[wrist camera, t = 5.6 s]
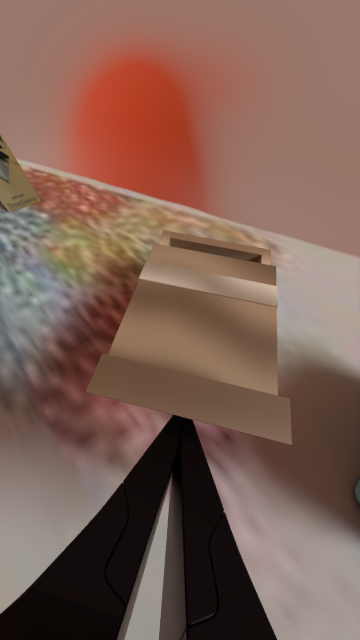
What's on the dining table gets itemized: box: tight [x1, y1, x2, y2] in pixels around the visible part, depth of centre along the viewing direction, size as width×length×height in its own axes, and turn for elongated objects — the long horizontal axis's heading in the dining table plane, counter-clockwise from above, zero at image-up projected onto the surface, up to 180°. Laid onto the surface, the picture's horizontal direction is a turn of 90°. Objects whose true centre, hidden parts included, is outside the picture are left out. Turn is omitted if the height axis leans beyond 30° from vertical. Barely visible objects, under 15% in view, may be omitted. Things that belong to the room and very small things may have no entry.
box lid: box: [86, 243, 292, 445], centre depth 11 cm, size 12×10×4 cm
